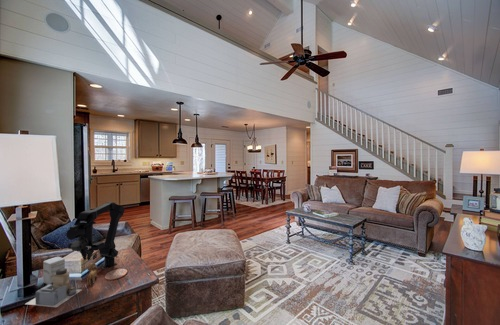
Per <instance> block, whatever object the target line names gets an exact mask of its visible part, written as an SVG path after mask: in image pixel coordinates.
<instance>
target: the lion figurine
mask: <svg viewBox="0 0 500 325" xmlns="http://www.w3.org/2000/svg"><path fill="white" fill-rule="evenodd" d="M86 270H87V271H89V274H88V276H87V277H86V280H87V281H86V287H89V285H90V287H92V284H95V278H97V277H98V271H99V269H98V266H97V264H96V263H94V262H90V263H89V265H88V266H87V267H86ZM91 280H92V284H91Z"/></svg>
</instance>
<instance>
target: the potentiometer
mask: <svg viewBox="0 0 500 325" xmlns="http://www.w3.org/2000/svg"><path fill="white" fill-rule="evenodd" d="M76 289H77V287H74V286H70V287H69V289H68V293H67V295H68V296H72V295H74V296H75V295H77V294H76ZM72 297H73V296H72Z"/></svg>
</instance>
